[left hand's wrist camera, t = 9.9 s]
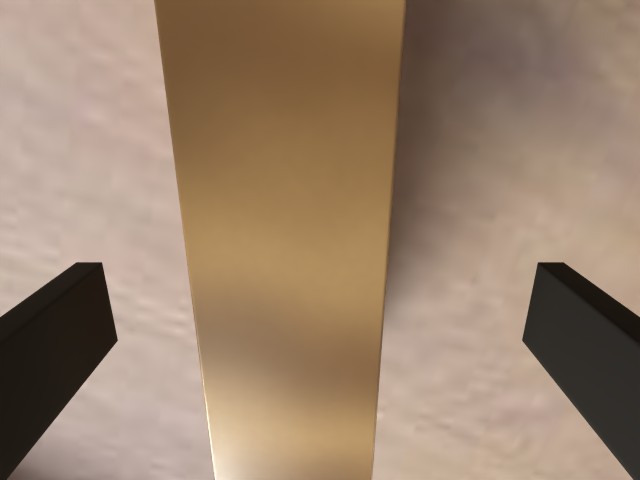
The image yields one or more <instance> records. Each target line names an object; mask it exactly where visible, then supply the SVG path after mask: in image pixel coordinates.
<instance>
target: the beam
mask: <svg viewBox="0 0 640 480" xmlns="http://www.w3.org/2000/svg"><path fill="white" fill-rule="evenodd" d="M154 2H155V10H156V18H157V26H158V34H159V42H160V50H161V58H162V66H163V74H164V82H165V90H166V98H167V106H168V113H169V121H170V129H171V137H172V145H173V153H174V161H175V169H176V177H177V185H178V193H179V201H180V209H181V217H182V225H183V233H184V241H185V248H186V256H187V264H188V272H189V280H190V288H191V296H192V304H193V312H194V320H195V328H196V336H197V344H198V352H199V360H200V368H201V376H202V383H203V391H204V399H205V407H206V415H207V423H208V431H209V439H210V447H211V455H212V463H213V471H214V479H215V480H372V475H373V461H374V447H375V433H376V419H377V405H378V391H379V377H380V363H381V349H382V335H383V321H384V307H385V293H386V279H387V265H388V251H389V237H390V223H391V209H392V196H393V182H394V168H395V154H396V140H397V126H398V112H399V98H400V84H401V70H402V56H403V42H404V28H405V14H406V0H154Z"/></svg>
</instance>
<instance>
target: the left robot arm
mask: <svg viewBox="0 0 640 480" xmlns="http://www.w3.org/2000/svg"><path fill="white" fill-rule="evenodd" d="M117 341H118V339H117V334H116V329H115V324H114V319H113V314H112V310H111V305H110V300H109V295H108V290H107V285H106V280H105V275H104V270H103V265H102V262H76V263H75V264H74V265H72V266H71V267H70V268H68V269H67V270H65V271H64V272H63V273H61V274H60V275H58V276H57V277H56V278H54V279H53V280H51V281H50V282H49V283H47V284H46V285H44V286H43V287H42V288H40V289H39V290H38V291H36V292H35V293H33V294H32V295H31V296H29V297H28V298H26V299H25V300H24V301H22V302H21V303H19V304H18V305H17V306H15V307H14V308H12V309H11V310H10V311H8V312H7V313H5V314H4V315H3V316H1V317H0V480H7V478H8V477H9V476H10V475H11V473H12V472H13V471H14V470H15V468H16V467H17V466H18V465H19V463H20V462H21V461H22V460H23V458H24V457H25V456H26V455H27V453H28V452H29V451H30V450H31V448H32V447H33V446H34V445H35V443H36V442H37V441H38V440H39V438H40V437H41V436H42V435H43V433H44V432H45V431H46V430H47V428H48V427H49V426H50V425H51V423H52V422H53V421H54V420H55V418H56V417H57V416H58V415H59V413H60V412H61V411H62V410H63V408H64V407H65V406H66V405H67V403H68V402H69V401H70V400H71V398H72V397H73V396H74V395H75V393H76V392H77V391H78V390H79V388H80V387H81V386H82V385H83V383H84V382H85V381H86V380H87V378H88V377H89V376H90V375H91V373H92V372H93V371H94V370H95V368H96V367H97V366H98V365H99V363H100V362H101V361H102V360H103V358H104V357H105V356H106V355H107V353H108V352H109V351H110V350H111V348H112V347H113V346H114V345H115V343H116V342H117ZM522 341H523V342H524V343H525V345H526V346H527V347H528V348H529V350H530V351H531V352H532V353H533V355H534V356H535V357H536V358H537V360H538V361H539V362H540V363H541V365H542V366H543V367H544V368H545V370H546V371H547V372H548V373H549V375H550V376H551V377H552V378H553V380H554V381H555V382H556V383H557V385H558V386H559V387H560V388H561V390H562V391H563V392H564V393H565V395H566V396H567V397H568V398H569V400H570V401H571V402H572V403H573V405H574V406H575V407H576V408H577V410H578V411H579V412H580V413H581V415H582V416H583V417H584V418H585V420H586V421H587V422H588V423H589V425H590V426H591V427H592V428H593V430H594V431H595V432H596V433H597V435H598V436H599V437H600V438H601V440H602V441H603V442H604V443H605V445H606V446H607V447H608V448H609V450H610V451H611V452H612V453H613V455H614V456H615V457H616V458H617V460H618V461H619V462H620V463H621V465H622V466H623V467H624V468H625V470H626V471H627V472H628V473H629V475H630V476H631V477H632V478H633V480H640V317H639V316H637V315H636V314H635V313H633V312H632V311H630V310H629V309H628V308H626V307H625V306H623V305H622V304H621V303H619V302H618V301H616V300H615V299H614V298H612V297H611V296H609V295H608V294H607V293H605V292H604V291H602V290H601V289H600V288H598V287H597V286H596V285H594V284H593V283H591V282H590V281H589V280H587V279H586V278H584V277H583V276H582V275H580V274H579V273H577V272H576V271H575V270H573V269H572V268H570V267H569V266H568V265H566V264H565V263H564V262H538V265H537V270H536V275H535V280H534V285H533V290H532V295H531V300H530V305H529V310H528V314H527V319H526V324H525V329H524V334H523V339H522Z"/></svg>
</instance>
